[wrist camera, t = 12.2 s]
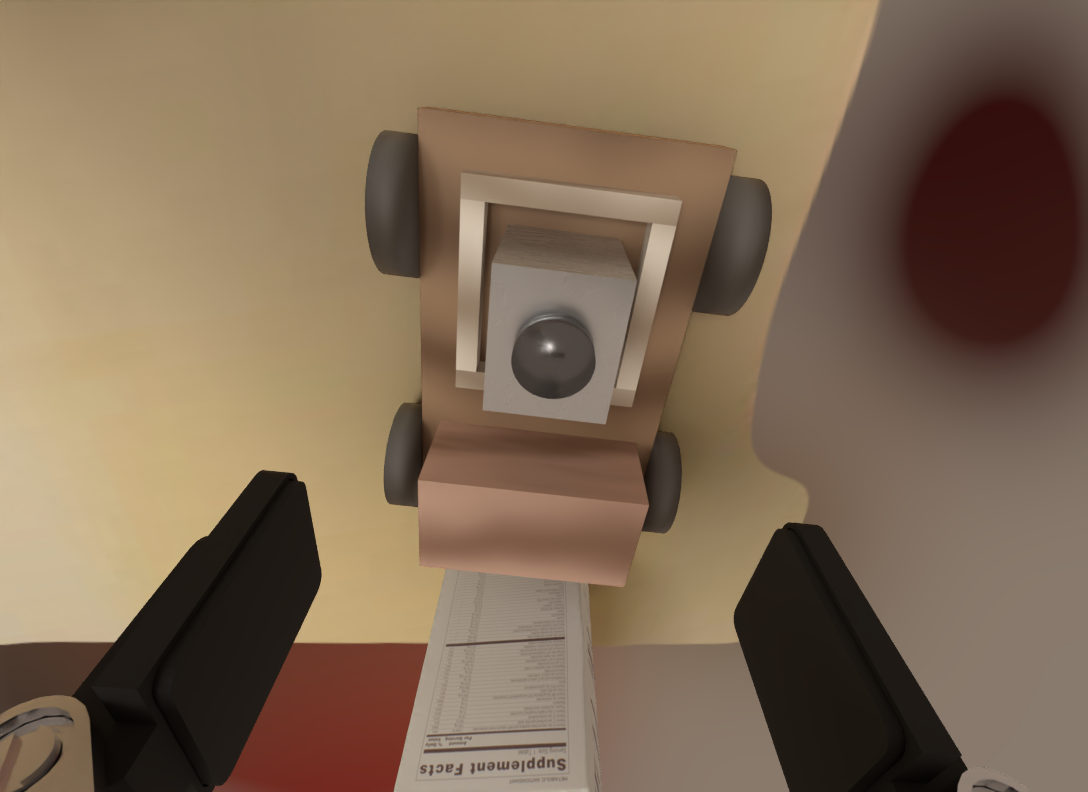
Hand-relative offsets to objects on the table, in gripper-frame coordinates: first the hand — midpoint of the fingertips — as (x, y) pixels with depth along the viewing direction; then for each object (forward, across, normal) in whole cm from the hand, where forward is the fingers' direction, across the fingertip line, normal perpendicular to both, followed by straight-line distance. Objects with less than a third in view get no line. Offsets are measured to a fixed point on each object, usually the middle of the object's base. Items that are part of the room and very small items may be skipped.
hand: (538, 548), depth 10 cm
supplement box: (+19, -1, +23) cm, 30 cm away
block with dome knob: (+16, 0, 0) cm, 16 cm away
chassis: (+19, 0, +4) cm, 20 cm away
